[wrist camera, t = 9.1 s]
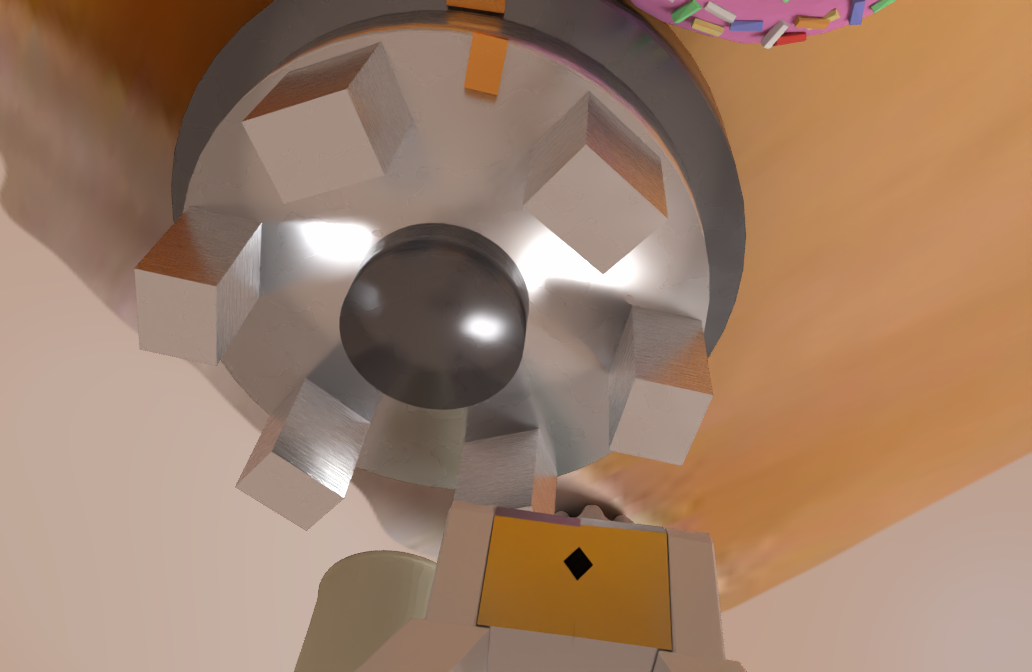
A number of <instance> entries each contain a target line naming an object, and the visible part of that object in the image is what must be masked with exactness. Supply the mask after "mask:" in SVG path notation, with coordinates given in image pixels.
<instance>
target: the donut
mask: <svg viewBox="0 0 1032 672" xmlns="http://www.w3.org/2000/svg"><path fill="white" fill-rule="evenodd" d="M630 1H631V2H632V3H633V4H634V5H635V6H636V7H638V8H640V9H641V10H643V11H645V12H647V13H648V14H650V15H652V16H654V17H655V18H657V19H659V20H661V21H663V22H666V23H669V24H672V25H675V26H678V27H682V28H685V29H688V30H691V31H694V32H698V33H701V34H704V35H707V36H712V37H718V38H722V39H727V40H731V41H735V42H739V43H762V45H763V47H765V48H768V49H770V48H771V47H772V45H773V46H778V45H784V44H789V43H795V42H801V41H805V40H806V36H811V35H816V34H822V33H825V32H828V31H831V30H835V29H838V28H841V27H844V26H846V25H848V24H849V25H858V24H861V22H862V18H863V17H866V16H868V15H870V14H872V13H876V12H878V11H879V10H881V9H882V8H884V7H886V6H887V5H889V4H890V3H892V2H894V1H895V0H630Z"/></svg>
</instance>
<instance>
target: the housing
mask: <svg viewBox="0 0 1032 672" xmlns="http://www.w3.org/2000/svg"><path fill="white" fill-rule="evenodd" d="M417 10H445V11H464V12H470V13H476V14H482V15H488V16H494V17H500V18H503V19H506V20H510V21H513V22H516V23H519V24H523V25H526V26H529V27H532V28H536V29H538V30H540V31H542V32H544V33H547V34H549V35H551V36H553V37H555V38H558V39H560V40H562V41H564V42H566V43H568V44H571V45H572V46H574V47H575V48H577V49H579V50H580V51H582V52H583V53H585V54H586V55H588V56H590V57H591V58H593V59H594V60H596V61H598V62H599V63H601V64H602V65H604V66H605V67H606V68H607V69H608V70H610V71H611V72H612V73H613V74H614V75H616V76H617V77H618V78H619V79H620V80H621V81H623V82H624V83H625V84H626V85H627V86H629V87H630V88H631V89H632V90H633V91H634V92H635V93H636V95H637V96H638V97H639V98H640V99H641V100H642V101H643V102H644V103H645V105H646V106H647V107H648V108H649V109H650V110H651V111H652V112H653V113H654V115H655V116H656V117H657V119H658V120H659V122H660V123H661V125H662V126H663V128H664V129H665V131H666V132H667V134H668V135H669V137H670V138H671V140H672V141H673V142H674V144H675V146H676V148H677V150H678V152H679V155H680V157H681V159H682V161H683V163H684V165H685V167H686V169H687V171H688V173H689V176H690V180H691V183H692V186H693V189H694V192H695V195H696V199H697V202H698V206H699V212H700V217H701V222H702V227H703V233H704V238H705V244H706V251H707V257H708V264H709V306H708V312H707V318H706V324H705V330H704V333H703V334H704V340H705V347H706V353H707V359H708V357H709V356H710V354H711V352H712V350H713V349H714V347H715V345H716V343H717V342H718V340H719V338H720V337H721V335H722V333H723V331H724V329H725V327H726V324H727V322H728V319H729V317H730V314H731V312H732V309H733V307H734V304H735V302H736V297H737V293H738V289H739V285H740V281H741V276H742V272H743V265H744V253H745V241H746V229H745V215H744V201H743V196H742V192H741V187H740V183H739V178H738V174H737V170H736V165H735V162H734V158H733V155H732V151H731V148H730V145H729V141H728V138H727V134H726V131H725V128H724V124H723V121H722V118H721V115H720V113H719V110H718V108H717V105H716V103H715V100H714V97H713V95H712V92H711V90H710V87H709V85H708V84H707V82H706V80H705V78H704V77H703V75H702V73H701V71H700V70H699V68H698V66H697V64H696V62H695V61H694V59H693V57H692V55H691V54H690V53H689V52H688V50H687V49H686V48H685V46H684V45H683V44H682V42H681V41H680V40H679V39H678V37H677V36H676V35H675V33H674V32H673V31H672V30H671V28H670V27H669V26H668V25H667V24H666V23H665V22H663V21H661V20H659V19H657V18H655V17H654V16H652V15H650V14H648V13H647V12H645V11H643V10H641V9H640V8H638V7H636V6H635V5H634V4H633V3H632V2H631V1H630V0H275V1H273V2H272V3H271V4H270V5H268V6H267V7H266V8H265V9H263V10H262V11H261V12H260V13H259V14H257V15H256V16H255V17H254V18H252V19H251V20H250V21H249V22H247V23H246V24H245V25H244V26H242V27H241V28H240V29H239V31H238V32H237V33H236V34H235V35H234V36H233V37H232V38H231V39H230V41H229V42H228V43H227V44H226V45H225V46H224V47H223V48H222V50H221V51H220V52H219V53H218V54H217V55H216V57H215V58H214V60H213V61H212V63H211V64H210V66H209V68H208V69H207V71H206V72H205V74H204V75H203V77H202V79H201V80H200V82H199V83H198V85H197V87H196V89H195V91H194V94H193V96H192V98H191V101H190V103H189V105H188V108H187V110H186V112H185V115H184V117H183V120H182V124H181V128H180V132H179V136H178V140H177V144H176V148H175V152H174V162H173V173H172V184H171V188H172V205H173V220H174V223H175V222H176V221H177V220H178V219H179V217H180V216H181V215H182V214H183V210H184V205H185V200H186V195H187V191H188V186H189V182H190V180H191V177H192V175H193V172H194V170H195V167H196V164H197V162H198V159H199V157H200V154H201V153H202V151H203V149H204V148H205V146H206V144H207V143H208V141H209V139H210V138H211V136H212V134H213V133H214V131H215V129H216V128H217V126H218V125H219V124H220V123H221V122H222V120H223V119H224V118H225V117H226V116H227V115H228V113H229V112H230V111H231V110H232V109H233V108H234V106H235V105H236V104H237V103H238V102H239V101H240V100H241V99H242V98H243V97H244V96H245V95H246V94H247V93H248V92H249V91H250V90H251V89H252V88H253V87H254V86H255V85H256V84H257V83H258V82H259V81H260V80H261V79H262V78H263V77H264V76H265V75H266V74H267V73H268V72H269V71H271V70H272V69H273V68H274V67H275V66H276V65H278V64H279V63H280V62H281V61H282V60H283V59H285V58H286V57H287V56H288V55H289V54H291V53H292V52H294V51H296V50H297V49H299V48H301V47H302V46H304V45H306V44H307V43H309V42H310V41H312V40H314V39H315V38H317V37H319V36H321V35H323V34H326V33H328V32H330V31H333V30H335V29H338V28H340V27H342V26H345V25H347V24H350V23H352V22H356V21H360V20H364V19H368V18H372V17H376V16H380V15H384V14H390V13H399V12H408V11H417Z"/></svg>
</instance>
